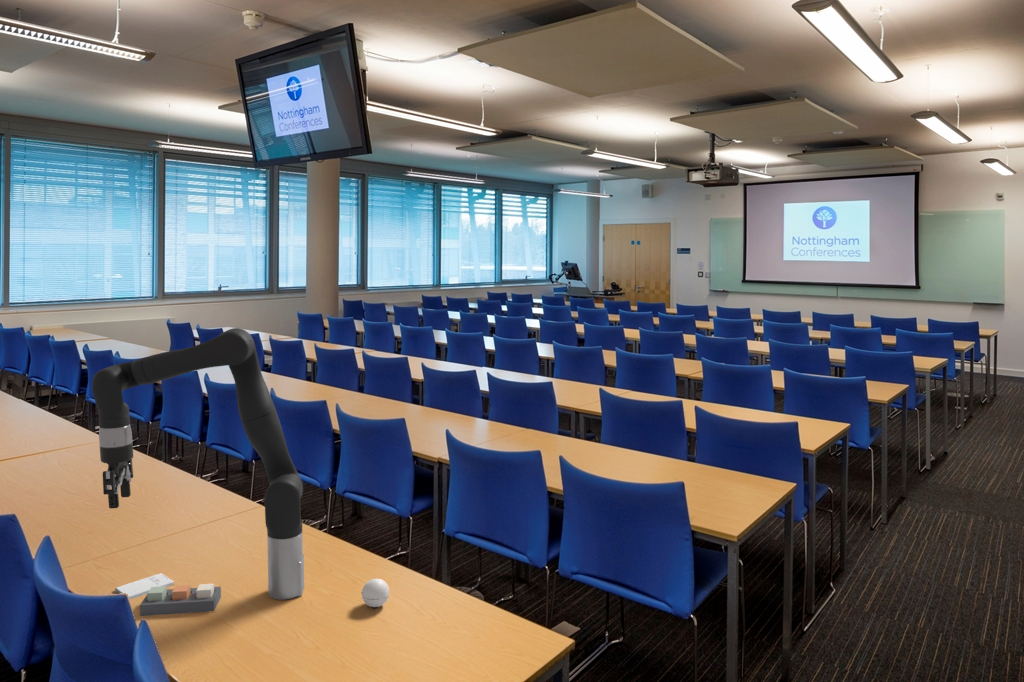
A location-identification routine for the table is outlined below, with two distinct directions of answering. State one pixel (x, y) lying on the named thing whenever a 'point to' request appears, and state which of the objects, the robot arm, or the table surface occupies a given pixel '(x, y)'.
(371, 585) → the white ovoid
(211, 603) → the keypad
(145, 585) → the external hard drive
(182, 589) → the terracotta button
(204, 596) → the cream button
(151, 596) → the sage button
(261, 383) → the robot arm
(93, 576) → the table surface
